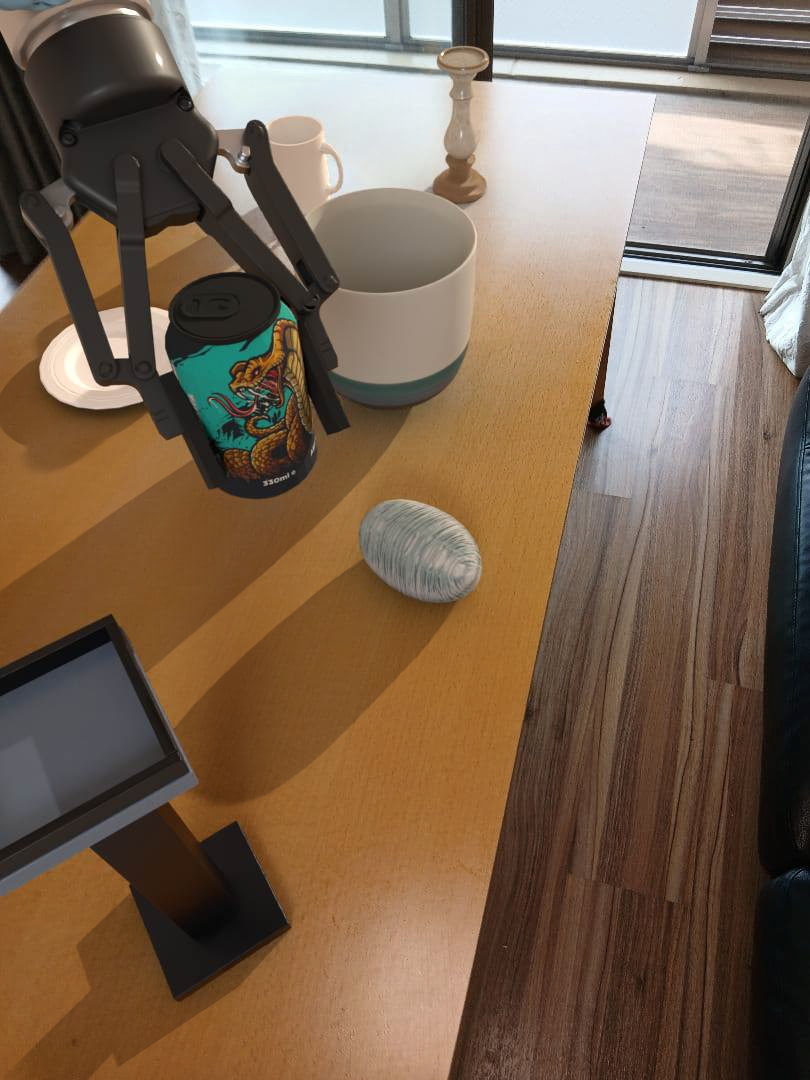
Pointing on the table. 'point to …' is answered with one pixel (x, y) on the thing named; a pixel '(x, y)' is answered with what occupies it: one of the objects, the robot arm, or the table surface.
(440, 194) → the candle holder
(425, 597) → the grey streaked ellipsoid
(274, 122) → the mug
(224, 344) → the beverage can
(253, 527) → the table surface
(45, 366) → the plate
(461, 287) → the planter
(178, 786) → the pad stand
